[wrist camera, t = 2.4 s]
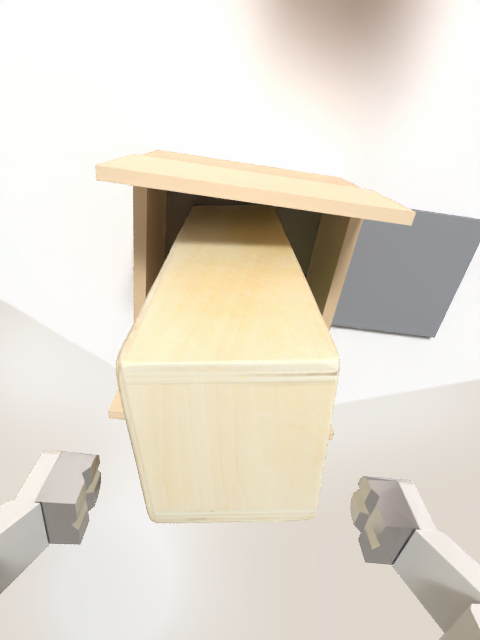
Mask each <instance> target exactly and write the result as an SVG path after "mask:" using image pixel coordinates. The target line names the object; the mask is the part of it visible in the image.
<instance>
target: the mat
mask: <svg viewBox="0 0 480 640" xmlns="http://www.w3.org/2000/svg"><path fill="white" fill-rule="evenodd" d="M411 210H413V211H415V212H416V214H415V217H414V220H413V222H412V225H411V226H410V225H403V224H396V223H389V222H382V221H375V220H368V219H363V222H362V225H361V228H360V231H359V235H358V238H357V241H356V245H355V248H354V251H353V254H352V258H351V261H350V264H349V268H348V271H347V274H346V277H345V281H344V284H343V287H342V291H341V294H340V297H339V300H338V304H337V307H336V310H335V314H334V317H333V320H332V323H331V325H336V326H344V327H352V328H361V329H369V330H377V331H385V332H393V333H401V334H409V335H418V336H426V337H435V335H436V333H437V331H438V329H439V327H440V325H441V323H442V321H443V318H444V316H445V314H446V312H447V310H448V308H449V306H450V304H451V302H452V300H453V297H454V295H455V293H456V291H457V289H458V287H459V285H460V283H461V281H462V279H463V276H464V274H465V272H466V270H467V268H468V266H469V264H470V262H471V260H472V258H473V255H474V253H475V251H476V249H477V247H478V245H479V243H480V219H475V218H468V217H461V216H455V215H448V214H441V213H434V212H428V211H421V210H414V209H411Z"/></svg>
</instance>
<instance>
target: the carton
mask: <svg viewBox="0 0 480 640" xmlns="http://www.w3.org/2000/svg"><path fill="white" fill-rule="evenodd" d="M95 168H96V180H99V181H106V182H112V183H119V184H126V185H133V230H134V322H135V320H136V318H137V316H138V314H139V312H140V310H141V308H142V306H143V304H144V302H145V300H146V297H147V295H148V293H149V291H150V289H151V287H152V285H153V284H154V282H155V280H156V278H157V276H158V274H159V272H160V270H161V268H162V266H163V264H164V261H165V235H166V209H167V190H168V191H175V192H182V193H189V194H195V195H202V196H209V197H216V198H223V199H230V200H237V201H244V202H251V203H258V204H265V205H271V206H278V207H285V208H292V209H299V210H306V211H313V212H320V213H322V216H321V220H320V224H319V228H318V232H317V236H316V240H315V244H314V248H313V252H312V256H311V260H310V265H309V269H308V273H307V277H306V280H307V283H308V285H309V287H310V290H311V292H312V294H313V296H314V299H315V301H316V303H317V306H318V308H319V311H320V313H321V315H322V317H323V319H324V322H325V324H326V326H327V328H328V330H330V327H331V323H332V320H333V317H334V314H335V310H336V307H337V304H338V300H339V297H340V294H341V291H342V287H343V284H344V281H345V277H346V274H347V271H348V268H349V264H350V261H351V258H352V254H353V251H354V248H355V245H356V241H357V238H358V235H359V231H360V228H361V225H362V222H363V219H368V220H375V221H382V222H389V223H396V224H403V225H410V226H411V225H412V222H413V220H414V217H415V214H416V212H415V211H413V210H411V209H409V208H407V207H405V206H403V205H401V204H399V203H397V202H395V201H393V200H391V199H389V198H387V197H385V196H383V195H381V194H379V193H377V192H375V191H373V190H368V189H361V188H360V187H358V186H356V185H354V184H352V183H350V182H348V181H346V180H345V179H343V178H339V177H333V176H326V175H320V174H313V173H306V172H300V171H293V170H287V169H280V168H274V167H267V166H260V165H254V164H247V163H241V162H234V161H228V160H221V159H214V158H208V157H201V156H195V155H188V154H182V153H175V152H168V151H162V150H156V151H153V152H150V153H147V154H144V155H136V154H132V155H128V156H125V157H121V158H118V159H114V160H111V161H107V162H104V163H100V164H97V165H95ZM108 412H109V418H112V419H122V420H125V416H124V411H123V407H122V403H121V398H120V393H119V389H118V391H117V393H116V396H115V398H114V400H113V402H112V404H111V406H110V409H109V411H108ZM333 435H334V433H333V429H332V426H330V433H329V439H328V440H332V437H333Z"/></svg>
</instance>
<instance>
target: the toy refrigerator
mask: <svg viewBox="0 0 480 640" xmlns="http://www.w3.org/2000/svg"><path fill="white" fill-rule="evenodd" d="M339 363H340V359H339V355H338V352H337V349H336V346H335V344H334V342H333V339H332V337H331V335H330V333H329V330H328V328H327V326H326V324H325V322H324V319H323V317H322V315H321V313H320V311H319V308H318V306H317V303H316V301H315V299H314V296H313V294H312V292H311V290H310V287H309V285H308V283H307V280H306V278H305V276H304V274H303V272H302V269H301V267H300V265H299V263H298V260H297V259H296V256H295V254H294V251H293V249H292V247H291V245H290V243H289V240H288V238H287V236H286V234H285V231H284V229H283V226H282V224H281V222H280V220H279V217H278V215H277V212H276V210H275V207H274V206H271V205H206V206H193V207H192V208H191V210H190V212H189V214H188V216H187V218H186V220H185V222H184V224H183V226H182V228H181V230H180V232H179V234H178V236H177V238H176V240H175V241H174V244H173V246H172V248H171V250H170V252H169V254H168V256H167V258H166V260H165V262H164V264H163V266H162V268H161V270H160V272H159V274H158V276H157V278H156V280H155V282H154V284H153V285H152V287H151V289H150V291H149V293H148V295H147V297H146V300H145V302H144V304H143V306H142V308H141V310H140V312H139V314H138V316H137V318H136V320H135V322H134V324H133V326H132V328H131V330H130V332H129V334H128V335H127V337H126V339H125V341H124V343H123V345H122V347H121V349H120V352H119V354H118V357H117V360H116V376H117V382H118V387H119V393H120V398H121V403H122V407H123V411H124V416H125V420H126V424H127V428H128V432H129V436H130V440H131V444H132V448H133V452H134V456H135V461H136V465H137V469H138V473H139V478H140V482H141V487H142V491H143V495H144V499H145V504H146V508H147V513H148V515H149V517H150V519H151V520H152V521H153V522H156V523H211V522H256V521H299V520H309V519H312V518H314V517H315V514H316V511H317V507H318V501H319V494H320V488H321V482H322V476H323V469H324V464H325V458H326V452H327V445H328V439H329V433H330V426H331V419H332V414H333V408H334V402H335V396H336V390H337V383H338V376H339Z"/></svg>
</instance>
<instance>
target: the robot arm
mask: <svg viewBox="0 0 480 640" xmlns="http://www.w3.org/2000/svg"><path fill="white" fill-rule="evenodd" d="M99 464H100V459H99V455H92V454H82V453H74V452H65V451H53V450H45V451H44V452H43V453H42V454H41V455H40V457H39V459H38V460H37V462H36V464H35V465H34V467H33V469H32V470H31V472H30V474H29V476H28V477H27V479H26V481H25V482H24V484H23V486H22V487H21V489H20V491H19V493H18V494H17V496H16V498H15V499H14V501H7V502H6V503H4V504H3V505H1V506H0V594H1V593H2V592H3V591H4V590H5V589H6V588H7V587H8V586H9V585H10V584H11V583H12V582H13V581H14V580H15V579H16V578H17V577H18V576H19V575H20V574H21V573H22V572H23V571H24V570H25V569H26V568H27V567H28V566H29V565H30V564H31V563H32V562H33V561H34V560H35V559H36V558H37V557H38V556H39V555H40V553H42V552H43V550H45V549H46V548H47V547H48V545H49V544H48V543H52V544H80V543H81V541H82V539H83V536H84V533H85V531H86V528H87V525H88V522H89V515H88V511H89V510H91V508H93V507H94V506H95V503H96V500H97V497H98V493H99V489H100V483H101V473H100V472H99V471H98V470H97V469H98V466H99ZM358 485H359V488H360V489H359V490H357V491H356V492H354V493H353V496H352V499H351V516H352V520H353V523H354V525H355V526H356V527H357V528H358V530H359V531H360V532H361V533H360V536H359V539H358V540H359V543H360V546H361V550H362V553H363V556H364V559H365V562H369V563H380V564H390V565H393V568H394V569H395V570H396V572H397V573H398V574H399V575H400V577H401V578H402V579H403V581H404V582H405V583H406V584H407V586H408V587H409V588H410V590H411V591H412V592H413V593H414V595H415V596H416V597H417V598H418V600H419V601H420V602H421V604H422V605H423V606H424V607H425V609H426V610H427V611H428V613H429V614H430V615H431V616H432V618H433V619H434V620H435V621H436V623H437V624H438V625H439V627H440V628H441V629H442V630H443V632H444V633H445V634H444V635H443V636H442V637H441V638H440V639H439V640H480V565H478V563H476V562H475V561H474V560H473V559H472V558H471V557H470V556H469V555H468V554H466V552H464V551H463V550H462V549H461V548H460V547H459V546H458V545H457V544H456V543H454V542H453V541H452V540H451V539H450V538H449V537H448V536H447V535H446V534H444V533H443V532H442V531H437V529H436V527H435V525H434V523H433V521H432V519H431V517H430V515H429V513H428V511H427V509H426V507H425V506H424V503H423V501H422V499H421V498H420V495H419V493H418V491H417V490H416V488H415V486H414V484H413V483H412V482H411V481H410V480H404V479H393V478H382V477H367V476H363V477H362V478H361V479H360V480H359V482H358Z"/></svg>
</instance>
